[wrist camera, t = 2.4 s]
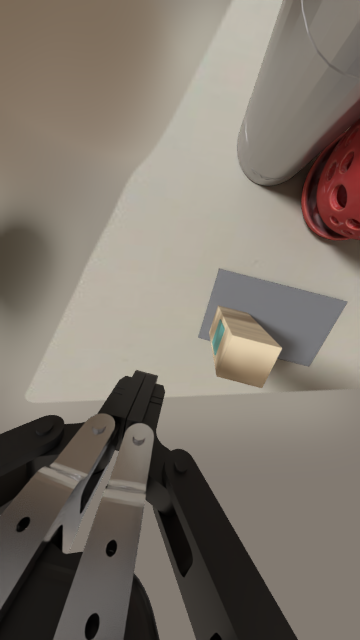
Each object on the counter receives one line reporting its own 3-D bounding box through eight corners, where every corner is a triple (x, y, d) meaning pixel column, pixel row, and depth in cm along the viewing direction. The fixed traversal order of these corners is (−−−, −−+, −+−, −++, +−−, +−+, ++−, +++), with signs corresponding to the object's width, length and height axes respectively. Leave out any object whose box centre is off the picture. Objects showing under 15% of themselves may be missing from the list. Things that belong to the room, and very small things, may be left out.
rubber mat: (219, 268, 27) (219, 268, 26) (345, 300, 26) (347, 301, 26) (198, 336, 31) (198, 337, 30) (307, 364, 31) (309, 366, 30)
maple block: (217, 305, 28) (230, 334, 17) (247, 312, 28) (282, 348, 17) (208, 332, 30) (215, 375, 18) (237, 339, 30) (262, 388, 18)
